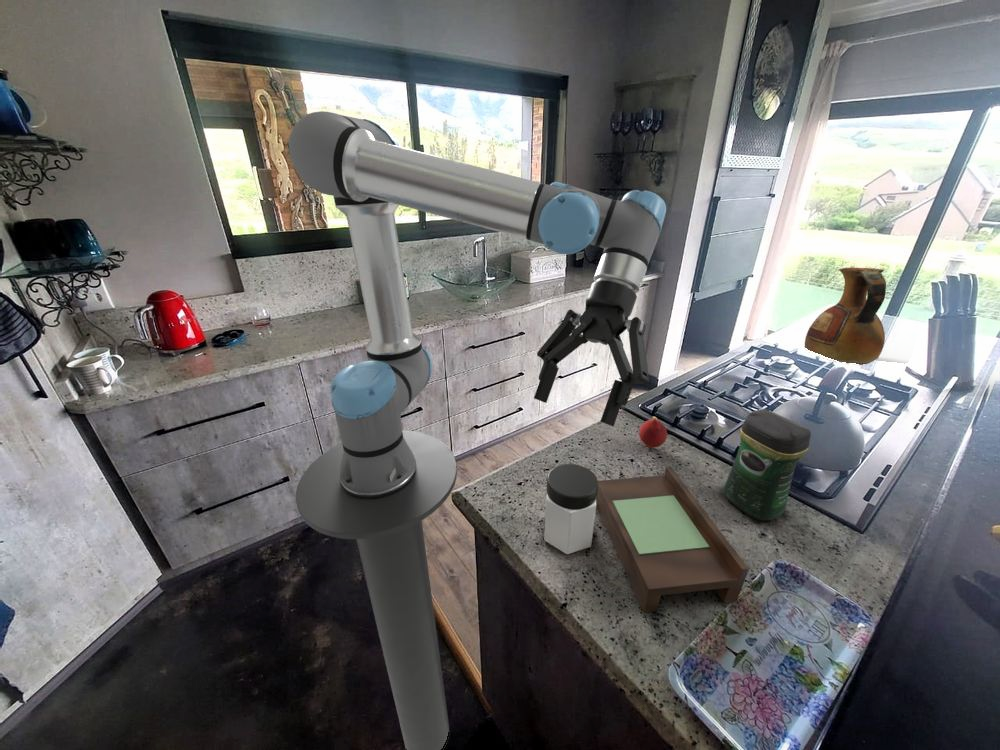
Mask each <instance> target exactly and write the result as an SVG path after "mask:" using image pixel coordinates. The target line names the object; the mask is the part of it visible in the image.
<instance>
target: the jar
mask: <svg viewBox="0 0 1000 750" xmlns="http://www.w3.org/2000/svg"><path fill="white" fill-rule="evenodd" d="M598 481H599V479H598V478H597V476H596V475H595V473H594V472H593V471H592V470H590V469H589V468H587V467H585V466H583V465H579V464H575V463H563V464H559V465H556V466H554V467H553V468H552V469H550V471H549V472H548V473H547V477H546V498H545V514H544V515H545V516H544V531H543V532H544V533H543V534H544V535H543V536H544V537H543V540H544V542H546V543H547V544H549V545H551V546H552V547H554V548H556V549H557V550H559V551H561V552H562V553H563V554H565V555H570V554H573V553H577V552H580V551H582V550H585V549H589V548H591V547H592V543H593V535H594V528H595V527H594V526H595V520H596V512H597V511H596V510H597V506H596V498H597V493H598Z"/></svg>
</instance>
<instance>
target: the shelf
mask: <svg viewBox="0 0 1000 750" xmlns="http://www.w3.org/2000/svg"><path fill="white" fill-rule="evenodd" d="M596 509H597V511H598V513H599V515H600V517H601V519H602V521H603V524H604V526H605V528H606V530H607V533H608V535H609V537H610V540H611V542H612V544H613V546H614V549H615V551H616V553H617V556H618V558H619V560H620V563H621V564H622V566H623V569H624V572H625V573H626V577H627V578H628V581H629V583H630V585H631V587H632V590H633V592H634V594H635V596H636V598H637V601H638V603H639V606H640V607H641V610H642V612H643V613H653V612H657V611H658V608H659V605H660V600H661V596H666V595H675V594H684V593H685V594H687V593H693V592H703V591H711V590H714V591H715V592H716V594H717V595H718V597H719V598H720V600H721V602H722V603H723V604H729V603H736V602H738V599H739V596H740V593H741V591H742V588H743V585H744V583H745V581H746V578H747V576H748V573H749V570H750V568H749V567H748V565H747V564H746V563H745V561H744V560H743V559H742V557H741V556H740V555H739V554H738V552H737V551H736V550H735V548H734V547H733V546H732V544H731V543H730V541H728V539H727V538H726V536H725V535H724V534H723V533H722V531H721V530H720V529H719V527H718V526H717V524H716V523H715V522H714V521H713V519H712V518H711V517H710V515H709V514H708V513H707V512H706V510H705V509H704V508H703V506H702V505H701V504H700V503H699V501H698V500H697V498H696V497H695V496H694V495H693V493H692V492H691V491H690V490H689V488H688V487H687V485H686V484H685V483H684V482H683V480H682V479H681V478H680V476H679V475H678V474H677V472H676V471H675V469H674V468H673V467H672V466H665V470H664V474H663V475H650V476H640V477H627V478H614V479H604V480H603V479H602V480H598V493H597V498H596Z"/></svg>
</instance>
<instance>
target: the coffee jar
mask: <svg viewBox="0 0 1000 750" xmlns="http://www.w3.org/2000/svg"><path fill="white" fill-rule="evenodd" d="M739 434H740V435H739V436H740V441H739V447H738V450H737V454H736V457H735V459H734V462H733V464H732V466H731V469H730V471H729V473H728V476H727V478H726V480H725V482H724V485H723V489H722V493H723V496H724V497H725V498H726V500H728V501H729V502H730V503H731V504H733V505H734V506H735V507H736V508H737V509H739V510H740V511H742V512H743V513H744V514H746V515H747V516H749V517H751V518H753V519H754V520H758V521H764V522H765V521H768V522H769V521H773V520H775V519H777V518H780V517H781V516H782V515H783V514H784V512H785V510H786V507H787V505H788V504H787V503H788V499H789V494H790V490H791V486H792V482H793V481H792V480H793V477H794V475H795V470H796V467H797V464H798V462H799V460H800V459H801V458H802V457H804V455H806V454H807V452H808V450H809V447H810V442H811V437H812V436H811V435H812V433H811V430H810V429H809V428H807V427H805V426H803V425H801V424H799V423H797V422H794V421H793V420H791V419H788V418H787V417H784V416H782V415H780V414H778V413H775V412H773V411H770V410H769V409H767V408H761V409H757V410H754V411H751V412H749V413H748V414H747V416H746V417H745V418H744V421H743V423H742V425H741V427H740V431H739Z"/></svg>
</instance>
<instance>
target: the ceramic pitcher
mask: <svg viewBox="0 0 1000 750" xmlns="http://www.w3.org/2000/svg"><path fill="white" fill-rule="evenodd" d="M838 271H839V272H840V273H841V274H842V276H843V280H844V286H843V290H842V291H843V292H842V295H841V297H840V299H839V301H838V302H837V303H836V304H835V305H833V306H832V305H831V306H830V307H828V308H827V309H825V310H824V311H822V312H821V313H820V314H819V315H818V316H817V317H816V318H815V319H814V321H813V322H812V323H811V325H810V326H809V328H808V330H807V332H806V335H805V338H804V349H805V348H807V349H808V350H810V351H813V352H815V353H818V354H821V355H823V356H825V357H828V358H831V359H834V360H837V361H839V362H838V363H842V362H846V363H845V364H849V363H856V364H859V365H858V366H864V365H863V364H865V365H868V364H870V363H873V362H875V361H876V360H878V358H879V357H880V355H881V354H882V352H883V349H884V347H885V342H886V334H885V333H886V332H885V329H884V325H883V322H882V320H881V319H880V317H879V316H878V315H877V313H878V312H879V310H880V309H881V307H882V306H883V303H884V302H885V298H886V291H887V282H886V279H885V277H884V275H883V274H882V273H884V271H885V270H884V268H883V269H882V268H875V267H874V268H873V267H855V266H854V267H853V266H852V267H842V268H839V269H838Z"/></svg>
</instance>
